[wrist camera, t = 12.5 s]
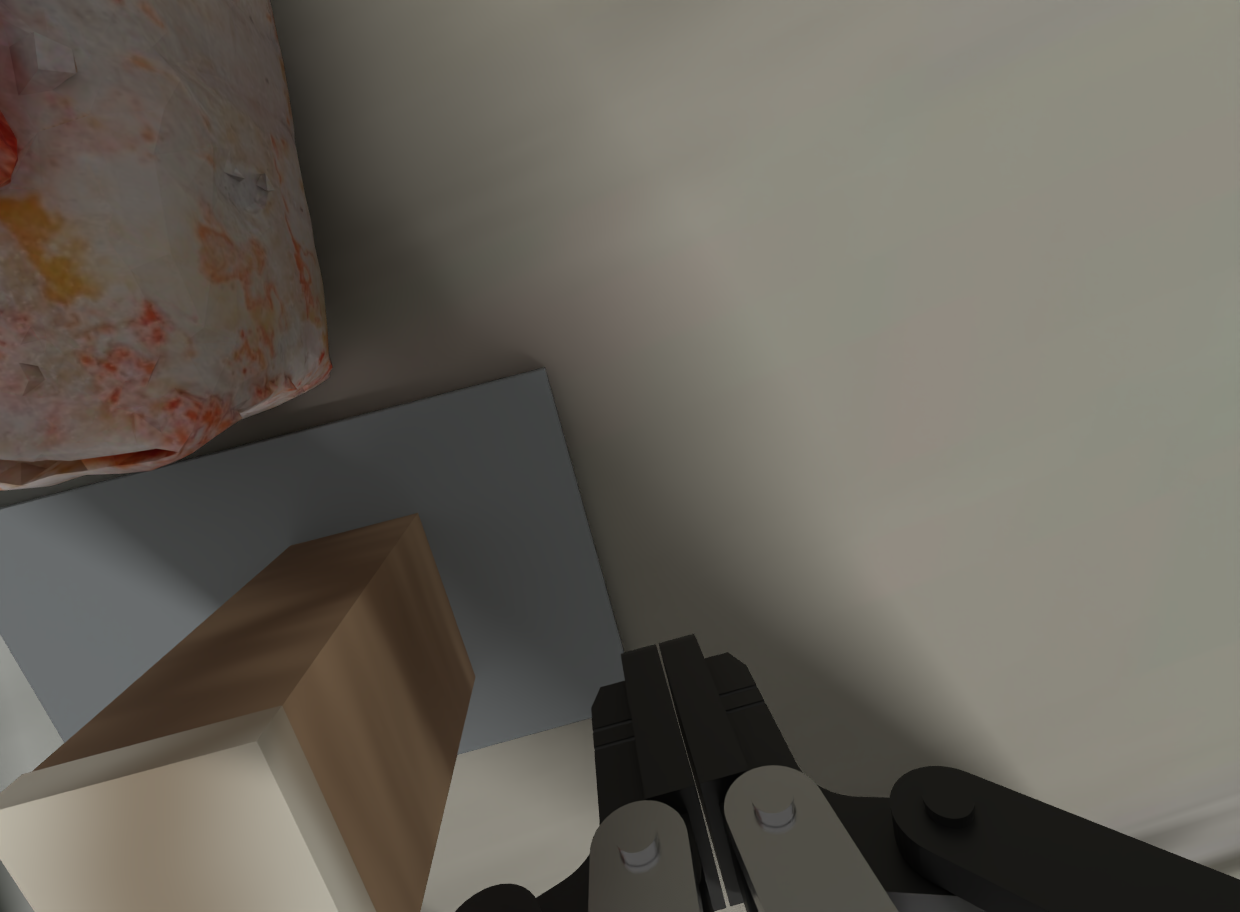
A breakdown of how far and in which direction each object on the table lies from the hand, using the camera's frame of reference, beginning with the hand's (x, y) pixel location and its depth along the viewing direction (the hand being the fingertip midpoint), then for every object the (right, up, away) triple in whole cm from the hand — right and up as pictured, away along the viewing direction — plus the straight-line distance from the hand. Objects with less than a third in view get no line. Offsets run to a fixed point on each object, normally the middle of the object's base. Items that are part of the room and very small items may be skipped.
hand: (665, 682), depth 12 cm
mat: (-11, -1, +8) cm, 13 cm away
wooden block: (-8, -1, +7) cm, 11 cm away
